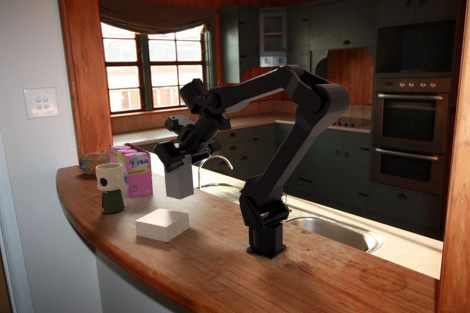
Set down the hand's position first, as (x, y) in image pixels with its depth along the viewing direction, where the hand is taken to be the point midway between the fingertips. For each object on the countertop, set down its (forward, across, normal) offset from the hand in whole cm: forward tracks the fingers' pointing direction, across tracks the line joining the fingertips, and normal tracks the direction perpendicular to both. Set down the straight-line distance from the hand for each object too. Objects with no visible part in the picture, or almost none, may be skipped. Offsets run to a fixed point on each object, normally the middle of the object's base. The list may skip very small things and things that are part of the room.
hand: (174, 169), depth 97 cm
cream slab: (+7, +8, +12) cm, 16 cm away
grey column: (+4, 0, +6) cm, 7 cm away
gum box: (+33, -11, -14) cm, 37 cm away
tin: (+51, -16, -33) cm, 63 cm away
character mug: (+23, +6, -4) cm, 24 cm away
